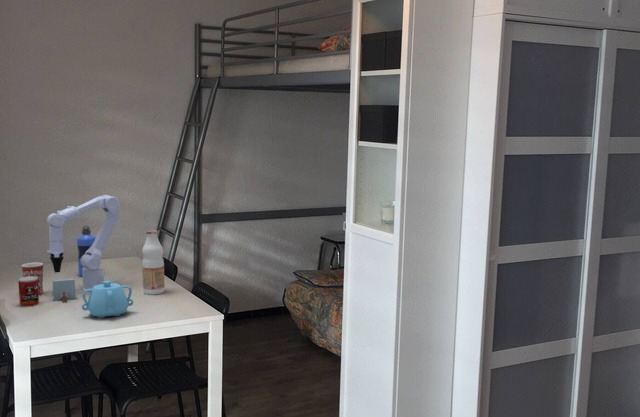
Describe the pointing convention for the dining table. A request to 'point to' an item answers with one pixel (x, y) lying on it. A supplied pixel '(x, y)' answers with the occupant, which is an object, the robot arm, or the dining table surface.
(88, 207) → the robot arm
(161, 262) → the fruit juice
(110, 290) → the decorative pot
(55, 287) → the slim blue-grey slab
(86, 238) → the water bottle
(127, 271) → the dining table surface
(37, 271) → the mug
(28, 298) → the canned food
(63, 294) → the rail
